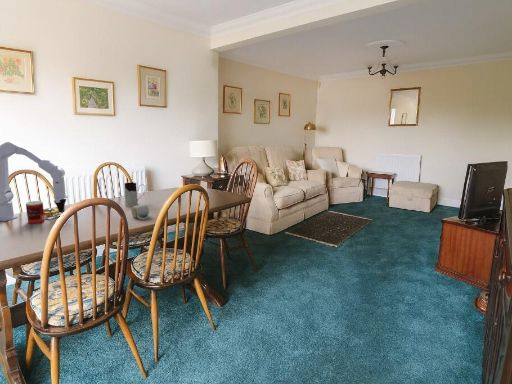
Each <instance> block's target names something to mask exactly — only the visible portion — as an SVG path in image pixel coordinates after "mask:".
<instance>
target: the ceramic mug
mask: <svg viewBox="0 0 512 384" xmlns="http://www.w3.org/2000/svg"><path fill="white" fill-rule="evenodd" d="M149 213H150V211H149V207H148V205H147V204H146V203H143V204H138V205H137V206H132V207H131V215H132V217H133V218H134V219H139V220H142V221H146V220H147V219H148V218H149Z"/></svg>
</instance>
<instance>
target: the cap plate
mask: <svg viewBox="0 0 512 384" xmlns="http://www.w3.org/2000/svg"><path fill="white" fill-rule="evenodd" d="M52 208H53V207H52ZM52 208H51V207H49V208H48V207H47V208H44V209H45V210H46V212H50V216H45V215H44V221H47V220H48V221H52V220H54V219H57V218H60V217H59V216H60V215H61V214H62V213H57V214H55V215H51V211H53V209H52Z"/></svg>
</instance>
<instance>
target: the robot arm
mask: <svg viewBox="0 0 512 384" xmlns="http://www.w3.org/2000/svg"><path fill="white" fill-rule="evenodd" d="M14 154H15V155H19V156H20V155H22V156H25V157H26V158H28V159H29V160H31V161H33V162H34V163H36V164H37V165H38V168H40V169H41V170H42V171H44V172H46V173H47V174H49V175H50V178H52V187H53V188H52V189H53V199H54V200H53V202H54V204H55V205H56V208H57V209H58V211H59V212H63V211H64V206H65V205H66V202H67V198H69V195H66V194H67V193H66V184H65V183H66V182H65V177H64V176H65V174H66V173H65V169H63V168H62V167H60V166H58V165H55V164H54V163H52V162H51V160H50V159H47V158H44V159H43V158H42V157H40V156H39V155H38V154H36V153H35V152H33V151H32V150H31V149H29V148H28V147H27V146H26V145H25V144H23V143H21V142H20V141H17V140H13V141H6V142H4V143H2V144H0V221H3V222H7V221H10V220H14V219H17V218H19V216H17V215H14V213H15V212H14V206H13V205H14V204H13V201H12V200H13V199H14V192H13V190H12V187H10V179H9V178H10V177H9V158H10V157H11V156H13V155H14Z"/></svg>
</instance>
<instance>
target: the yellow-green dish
mask: <svg viewBox="0 0 512 384" xmlns="http://www.w3.org/2000/svg"><path fill="white" fill-rule="evenodd" d="M45 209H46V208H43V210H44V215H45V216H50V212H46V210H45ZM52 209H53V211H51V215H55V214H57V213H63V212H64V211H65V212H66V207H65V206H64V211H63V212H59V211H58V208H57V207H56V208H54V207H52Z"/></svg>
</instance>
